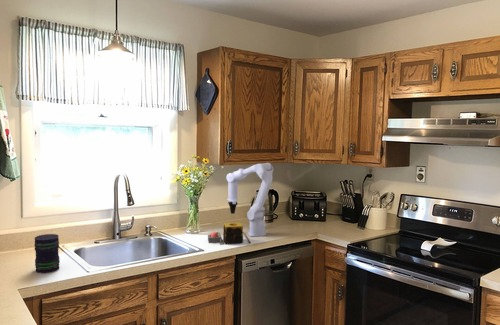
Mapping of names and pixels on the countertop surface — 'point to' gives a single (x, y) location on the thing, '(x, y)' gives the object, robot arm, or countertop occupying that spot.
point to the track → (223, 242)
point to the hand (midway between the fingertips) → (232, 213)
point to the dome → (214, 234)
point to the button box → (214, 239)
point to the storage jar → (47, 253)
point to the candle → (233, 233)
